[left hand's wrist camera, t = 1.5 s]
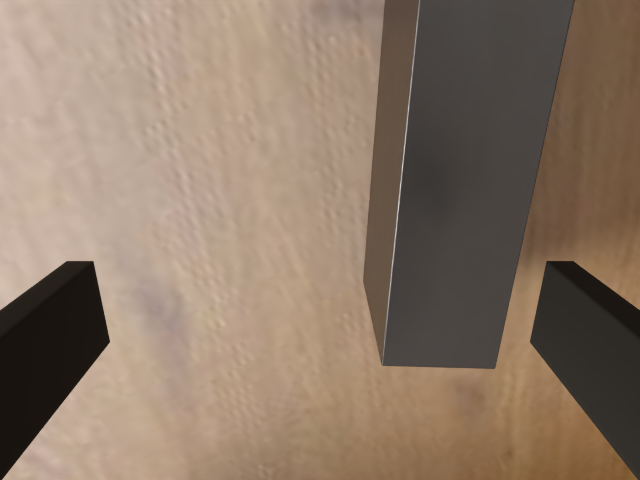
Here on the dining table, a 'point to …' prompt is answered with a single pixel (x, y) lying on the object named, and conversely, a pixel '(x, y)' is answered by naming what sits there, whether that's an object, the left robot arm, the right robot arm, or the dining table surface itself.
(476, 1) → the bar
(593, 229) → the dining table surface
